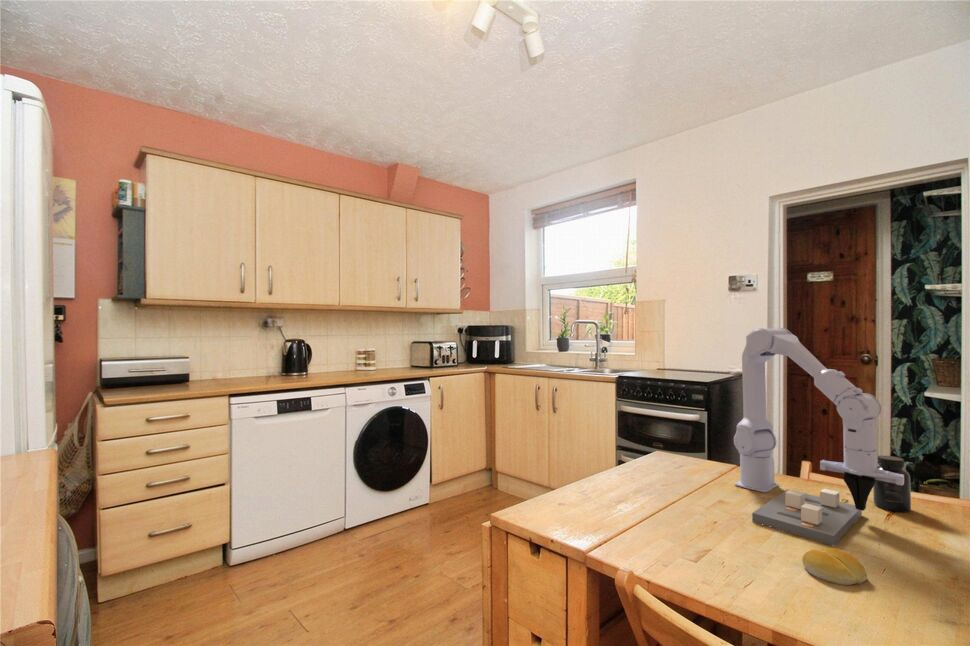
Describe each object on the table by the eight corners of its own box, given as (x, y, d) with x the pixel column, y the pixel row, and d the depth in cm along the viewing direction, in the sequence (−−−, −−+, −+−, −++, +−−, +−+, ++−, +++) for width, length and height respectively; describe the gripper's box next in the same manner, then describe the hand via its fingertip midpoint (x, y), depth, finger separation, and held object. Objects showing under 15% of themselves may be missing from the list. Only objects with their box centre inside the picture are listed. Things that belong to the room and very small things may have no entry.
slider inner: (824, 501, 109) (823, 488, 109) (839, 504, 106) (839, 491, 106) (820, 504, 107) (820, 491, 107) (835, 507, 104) (835, 494, 104)
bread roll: (792, 564, 84) (791, 543, 84) (835, 561, 86) (835, 539, 86) (831, 589, 76) (831, 565, 76) (878, 585, 77) (878, 562, 77)
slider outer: (805, 516, 100) (805, 503, 100) (822, 521, 97) (821, 507, 97) (801, 520, 98) (801, 506, 98) (817, 525, 95) (817, 510, 96)
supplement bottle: (917, 510, 108) (916, 460, 108) (900, 515, 106) (899, 463, 106) (883, 500, 115) (882, 452, 115) (866, 504, 112) (865, 455, 112)
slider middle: (789, 502, 108) (789, 489, 108) (804, 505, 106) (804, 493, 106) (785, 505, 106) (785, 492, 106) (800, 509, 104) (800, 496, 104)
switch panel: (787, 497, 117) (787, 489, 117) (861, 515, 106) (861, 506, 106) (752, 521, 102) (752, 512, 103) (833, 545, 91) (833, 535, 91)
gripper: (815, 445, 105) (816, 503, 105) (899, 458, 94) (900, 524, 94) (824, 440, 110) (825, 496, 110) (905, 452, 99) (906, 515, 99)
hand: (860, 508), depth 102 cm, fingers closed
